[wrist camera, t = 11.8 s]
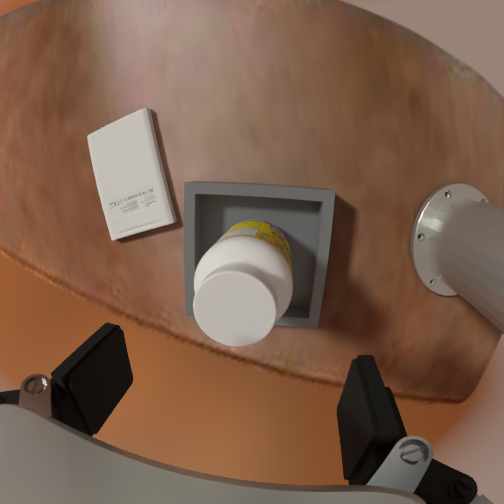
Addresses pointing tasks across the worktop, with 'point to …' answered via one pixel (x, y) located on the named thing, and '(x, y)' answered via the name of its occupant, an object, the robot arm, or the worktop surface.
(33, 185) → the worktop surface
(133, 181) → the external hard drive
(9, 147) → the worktop surface
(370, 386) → the robot arm
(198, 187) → the tray
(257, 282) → the supplement bottle
